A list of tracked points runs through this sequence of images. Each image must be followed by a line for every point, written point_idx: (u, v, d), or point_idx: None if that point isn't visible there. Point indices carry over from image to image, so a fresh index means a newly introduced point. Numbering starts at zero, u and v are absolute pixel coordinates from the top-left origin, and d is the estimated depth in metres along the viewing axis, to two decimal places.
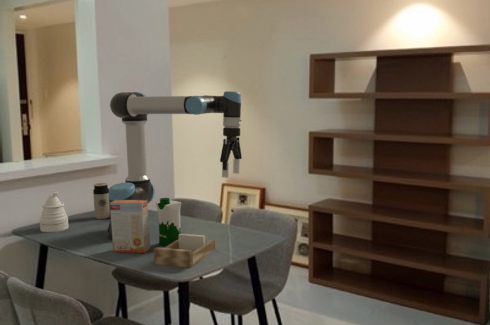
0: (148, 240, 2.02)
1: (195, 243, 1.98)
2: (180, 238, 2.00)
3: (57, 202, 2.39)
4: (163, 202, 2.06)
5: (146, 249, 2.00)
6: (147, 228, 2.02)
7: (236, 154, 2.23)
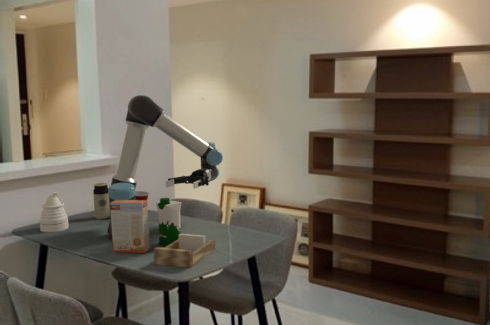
0: (148, 240, 2.02)
1: (195, 243, 1.98)
2: (180, 238, 2.00)
3: (57, 202, 2.39)
4: (163, 202, 2.06)
5: (146, 249, 2.00)
6: (147, 228, 2.02)
7: (178, 182, 2.29)
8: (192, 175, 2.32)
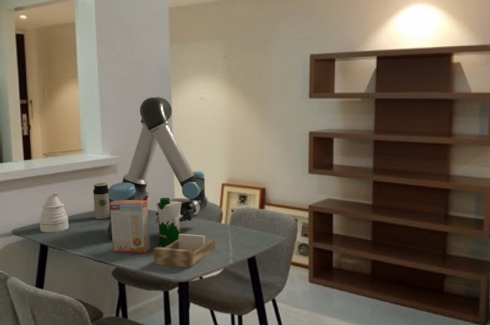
0: (148, 240, 2.02)
1: (195, 243, 1.98)
2: (180, 238, 2.00)
3: (57, 202, 2.39)
4: (163, 202, 2.06)
5: (146, 249, 2.00)
6: (147, 228, 2.02)
7: None
8: None
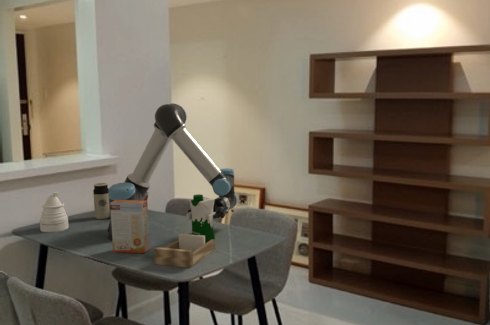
0: (148, 240, 2.02)
1: (195, 243, 1.98)
2: (180, 238, 2.00)
3: (57, 202, 2.39)
4: (197, 199, 2.03)
5: (146, 249, 2.00)
6: (147, 228, 2.02)
7: None
8: None
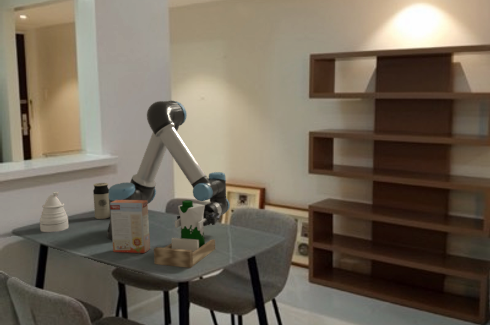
0: (148, 240, 2.02)
1: (189, 248, 1.92)
2: (173, 242, 1.94)
3: (57, 202, 2.39)
4: (186, 205, 1.92)
5: (146, 249, 2.00)
6: (147, 228, 2.02)
7: None
8: None
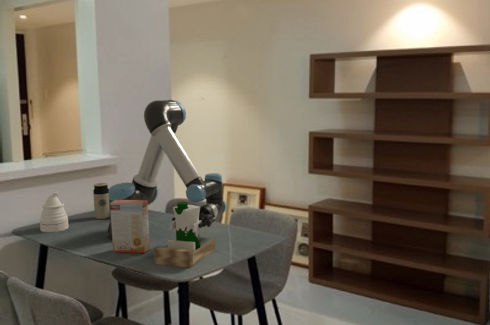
0: (148, 240, 2.02)
1: None
2: (169, 244, 1.91)
3: (57, 202, 2.39)
4: (181, 207, 1.90)
5: (146, 249, 2.00)
6: (147, 228, 2.02)
7: None
8: None
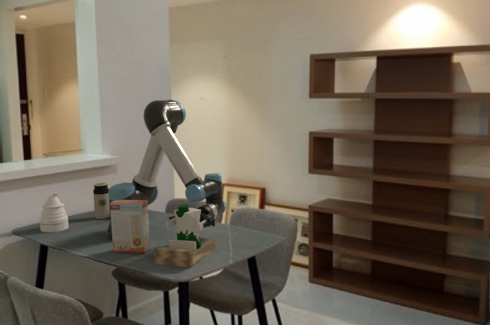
0: (148, 240, 2.02)
1: (186, 249, 1.90)
2: (170, 244, 1.92)
3: (57, 202, 2.39)
4: (182, 210, 1.91)
5: (146, 249, 2.00)
6: (147, 228, 2.02)
7: None
8: None
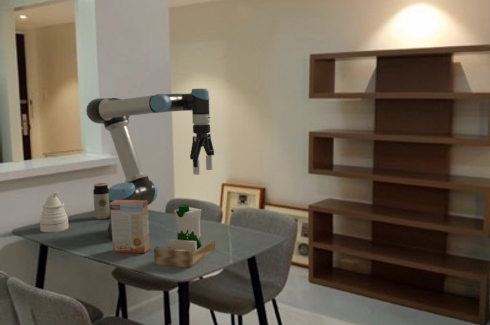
0: (148, 240, 2.02)
1: (187, 249, 1.90)
2: (170, 243, 1.92)
3: (57, 202, 2.39)
4: (182, 210, 1.91)
5: (146, 249, 2.00)
6: (147, 228, 2.02)
7: (208, 151, 2.24)
8: None
